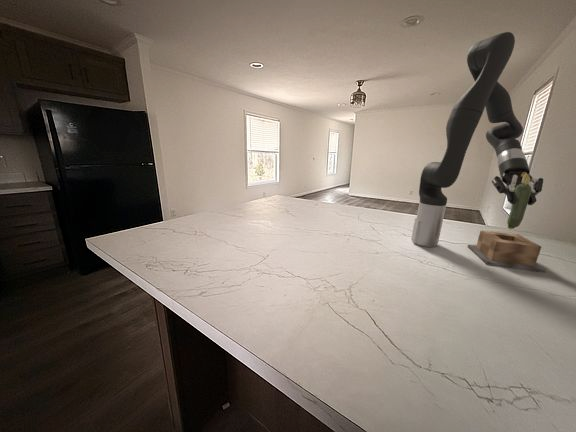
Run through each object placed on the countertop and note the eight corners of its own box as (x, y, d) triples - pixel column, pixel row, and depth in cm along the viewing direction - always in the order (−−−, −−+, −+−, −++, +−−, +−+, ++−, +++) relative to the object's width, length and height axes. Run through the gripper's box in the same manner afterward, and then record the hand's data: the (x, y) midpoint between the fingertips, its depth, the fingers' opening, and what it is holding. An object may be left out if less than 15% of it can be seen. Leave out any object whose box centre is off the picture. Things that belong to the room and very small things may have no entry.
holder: (486, 264, 79) (492, 242, 76) (467, 246, 93) (472, 228, 91) (545, 272, 74) (554, 250, 72) (516, 252, 89) (522, 233, 86)
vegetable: (522, 232, 78) (541, 173, 73) (507, 231, 79) (525, 172, 73) (513, 228, 82) (530, 172, 77) (499, 227, 83) (515, 171, 78)
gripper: (494, 156, 83) (502, 195, 75) (544, 157, 78) (559, 198, 71) (483, 170, 89) (490, 207, 81) (529, 171, 85) (541, 211, 77)
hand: (522, 203), depth 76 cm, fingers closed on vegetable, 4 cm apart
